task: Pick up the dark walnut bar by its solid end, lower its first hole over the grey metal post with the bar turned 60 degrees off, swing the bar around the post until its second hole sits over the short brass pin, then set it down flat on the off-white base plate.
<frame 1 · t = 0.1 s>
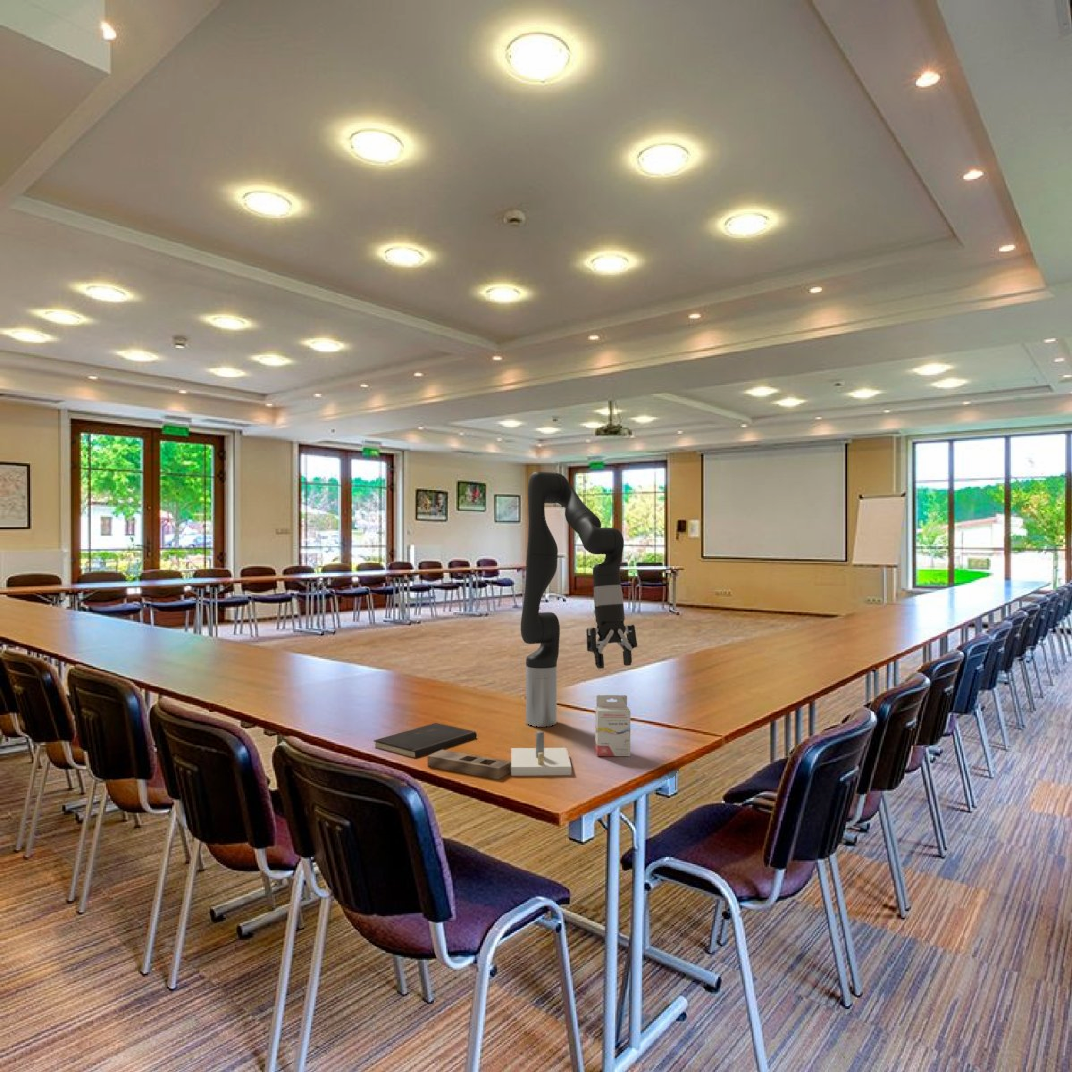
hand: (614, 667, 178), 22 cm above the table, tool pointing down, fingers open, 8 cm apart
post base: (539, 765, 169), on the table
hardcover book: (426, 745, 188), on the table
ink cartridge box: (612, 755, 178), on the table
walnut bar: (468, 769, 166), on the table
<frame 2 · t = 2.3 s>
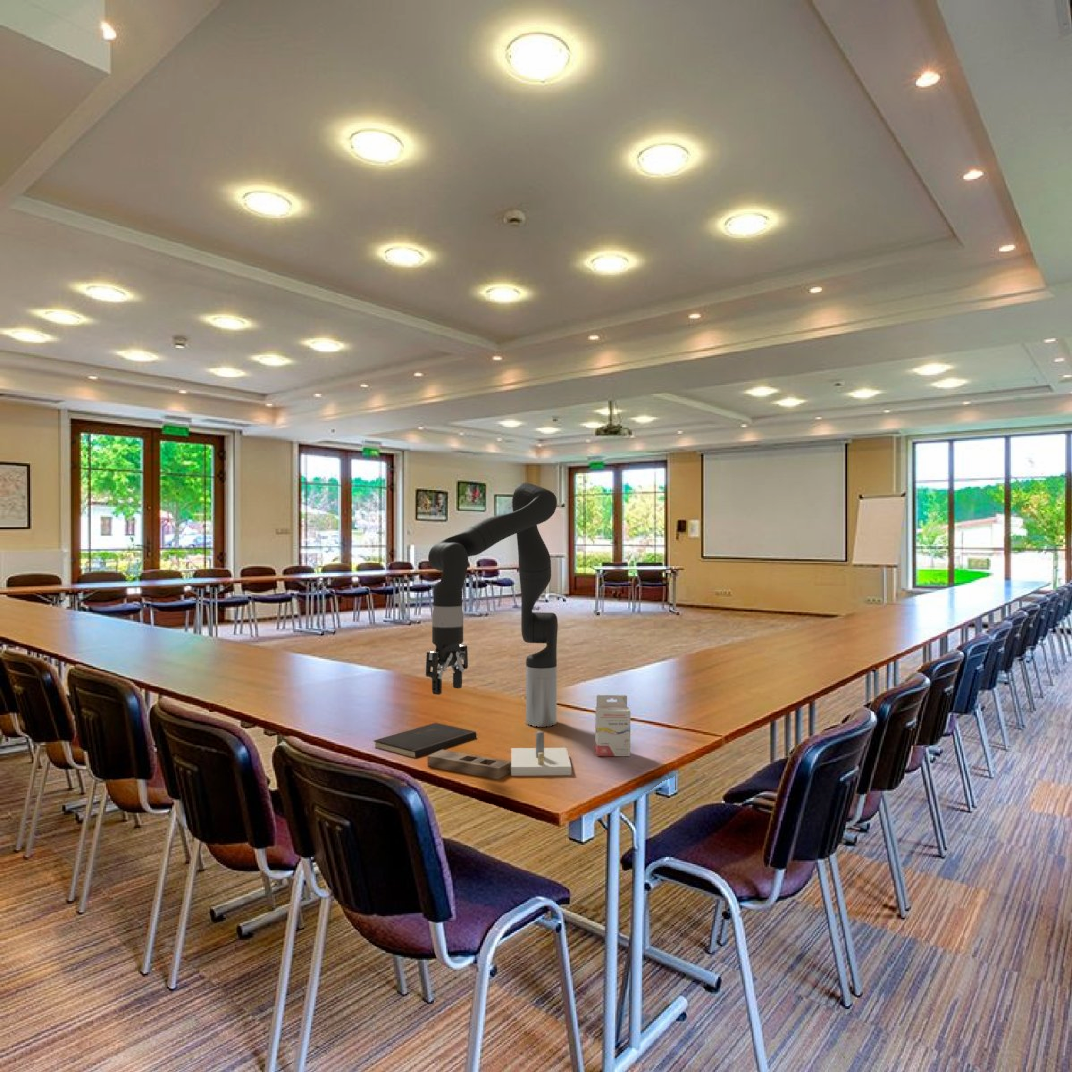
hand: (447, 691, 169), 18 cm above the table, tool pointing down, fingers open, 8 cm apart
nothing on the table moved.
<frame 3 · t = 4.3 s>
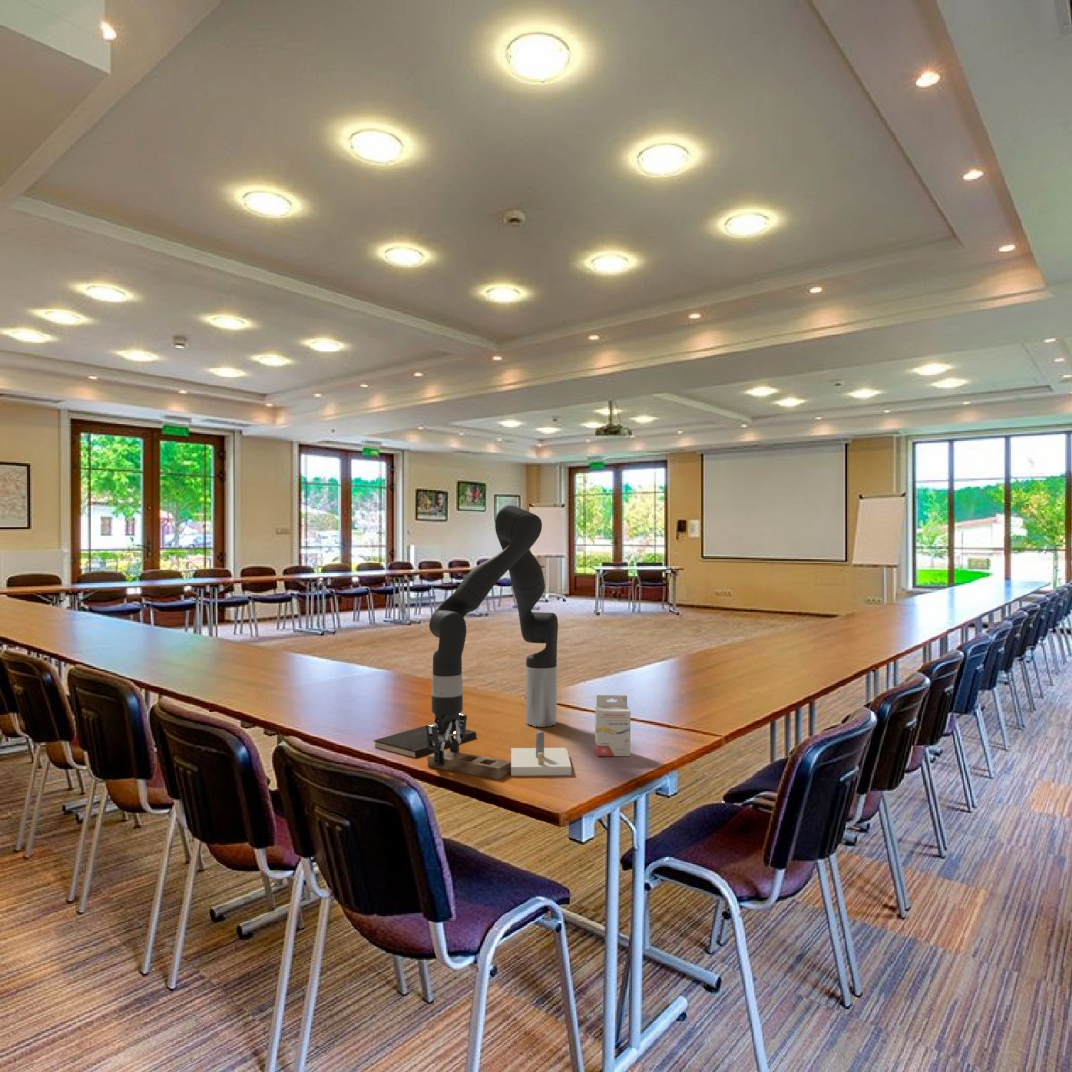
hand: (447, 761, 169), 1 cm above the table, tool pointing down, fingers closed on walnut bar, 5 cm apart
walnut bar: (468, 769, 166), on the table, touching gripper
everything else where it was.
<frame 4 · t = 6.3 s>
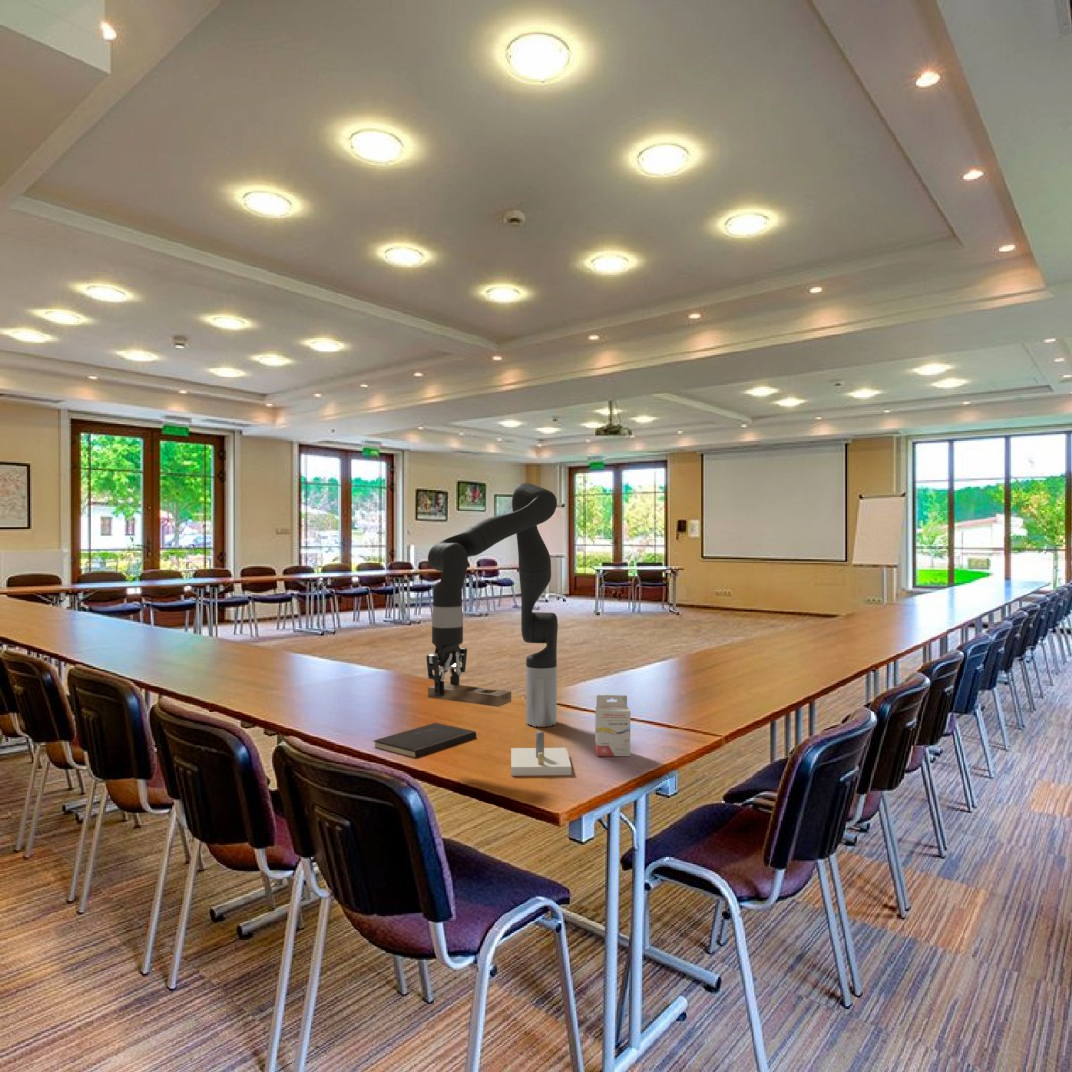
hand: (447, 693, 169), 17 cm above the table, tool pointing down, fingers closed on walnut bar, 5 cm apart
walnut bar: (469, 699, 166), point 17 cm above the table, touching gripper
everything else where it was.
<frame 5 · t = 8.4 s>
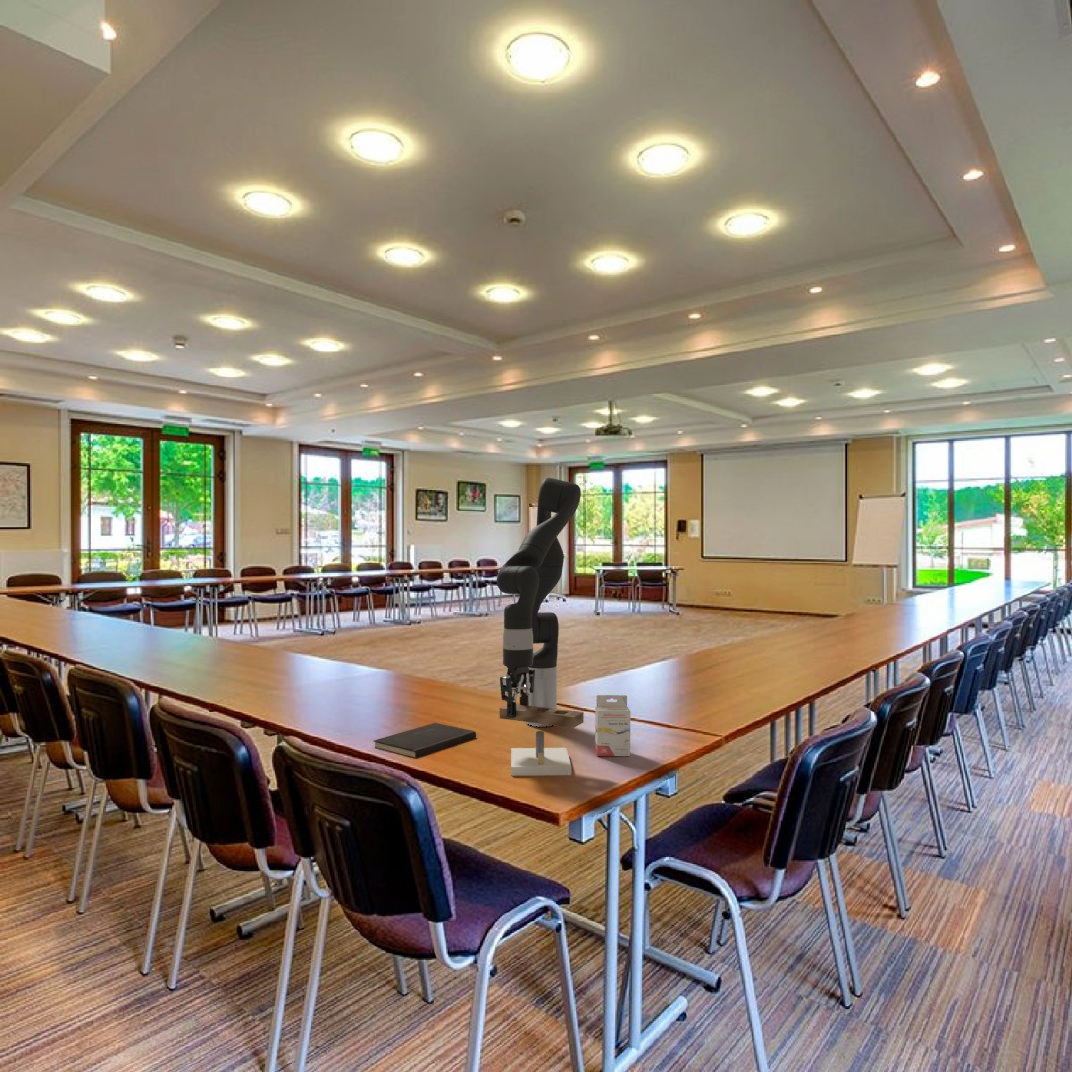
hand: (518, 714, 172), 12 cm above the table, tool pointing down, fingers closed on walnut bar, 5 cm apart
walnut bar: (541, 720, 169), point 11 cm above the table, touching gripper
everything else where it was.
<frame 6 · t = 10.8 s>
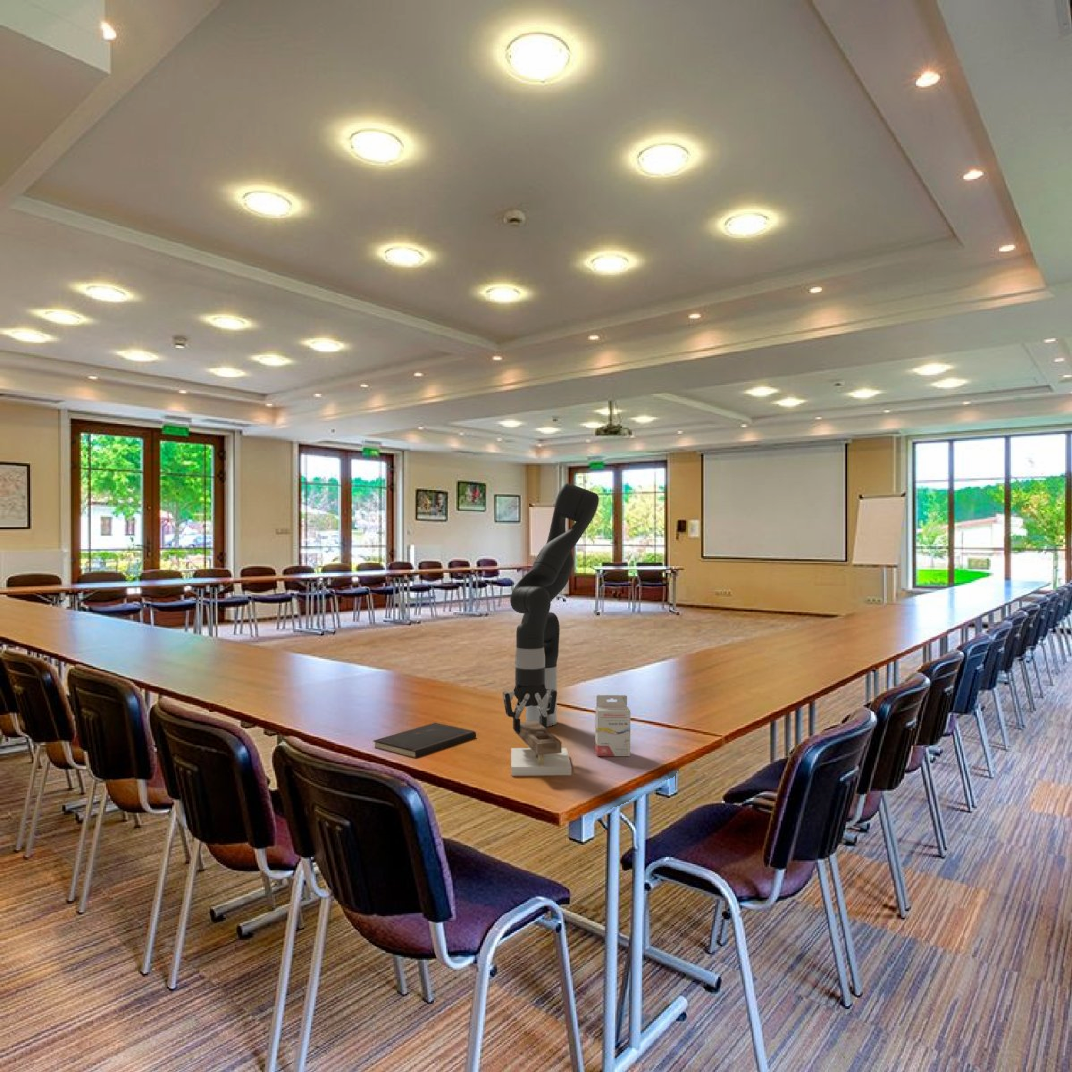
hand: (530, 731, 175), 6 cm above the table, tool pointing down, fingers closed on walnut bar, 5 cm apart
walnut bar: (537, 741, 169), point 6 cm above the table, touching gripper
everything else where it was.
when the fingers open (3 cm above the table, at t = 12.8 s): walnut bar stays where it is, resting on post base.
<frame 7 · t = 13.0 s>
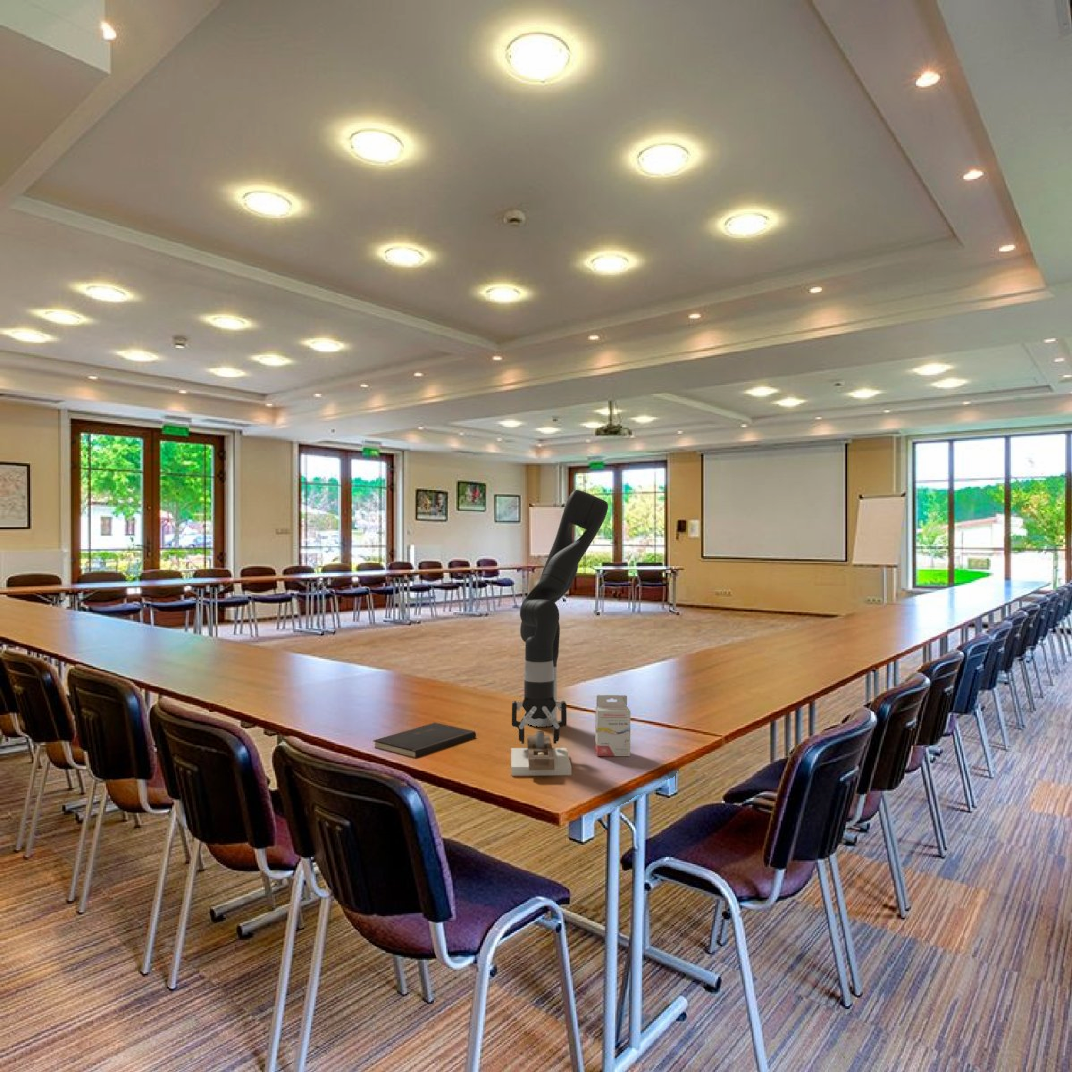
hand: (538, 742, 175), 4 cm above the table, tool pointing down, fingers open, 7 cm apart
walnut bar: (539, 756, 169), point 2 cm above the table, touching post base
everything else where it was.
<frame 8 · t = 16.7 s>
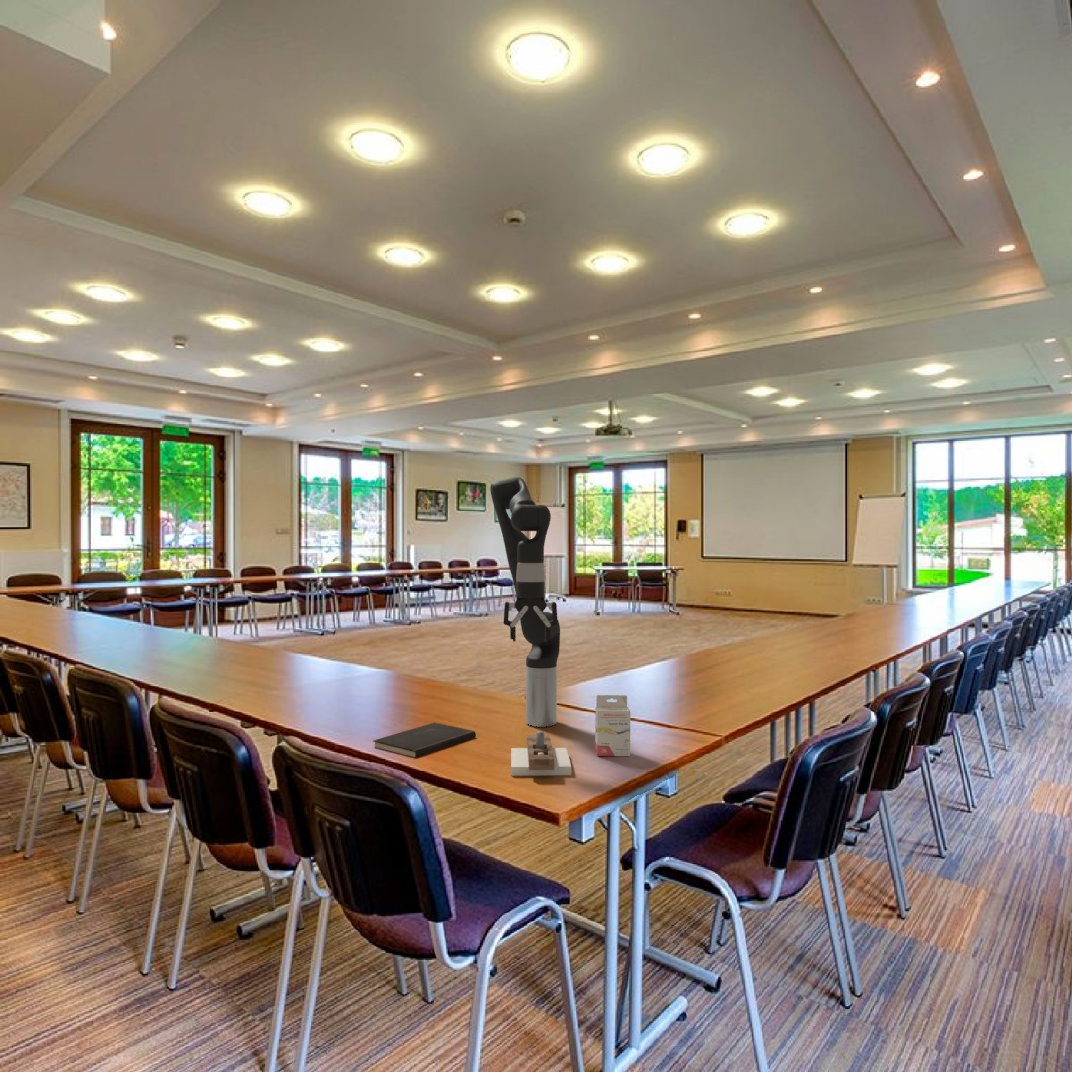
hand: (530, 641, 184), 28 cm above the table, tool pointing down, fingers open, 8 cm apart
nothing on the table moved.
at the end: walnut bar 0.1 cm off-centre on the post base, point 2.0 cm above the post base's base; walnut bar tilted 0°; the gripper is holding nothing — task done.
